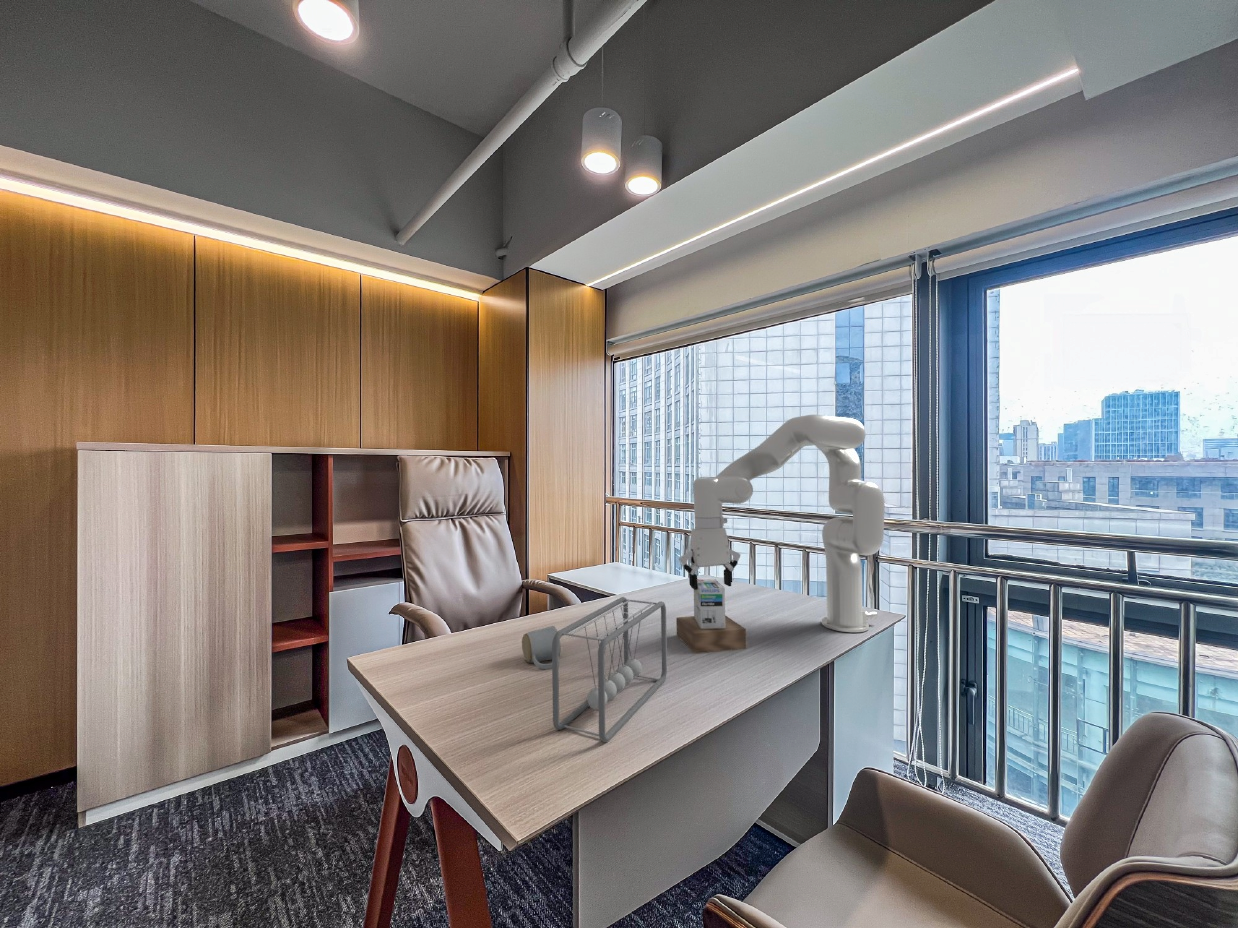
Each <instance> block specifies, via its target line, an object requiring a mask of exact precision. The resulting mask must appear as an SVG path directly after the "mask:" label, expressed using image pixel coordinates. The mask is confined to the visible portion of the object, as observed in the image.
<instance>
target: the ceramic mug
mask: <svg viewBox="0 0 1238 928" xmlns="http://www.w3.org/2000/svg"><path fill="white" fill-rule="evenodd" d="M557 629H558V628H556V627H555V626H554V625H551V626H546V627H542V628H539V629H536V630H535V629H533V630H531V631H528V632H526V633H524V634H523V636H522V638H521V650H522V655H523V658H524V660H525V662H527V663H530V664H531V663H532V664H534V665H535V666H536V667H537V668H538V669H540V670H552V662H551V663H542V662H545V661H552V642H553V638H554V636H555V634H556V633H557V632H558V631H559V630H557ZM561 647H562V646H561V639H560V640H559V644H558V659H559V658H560V656H561V652H562V651H561V649H562V648H561ZM540 662H541V663H540Z"/></svg>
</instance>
